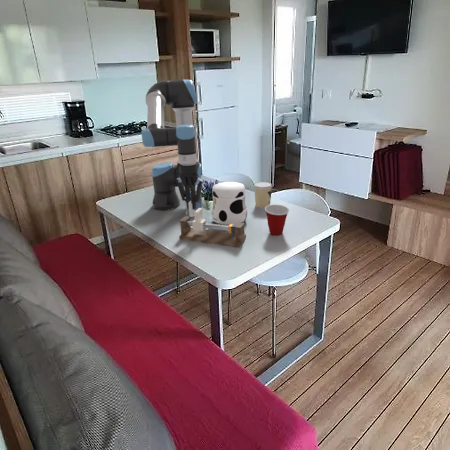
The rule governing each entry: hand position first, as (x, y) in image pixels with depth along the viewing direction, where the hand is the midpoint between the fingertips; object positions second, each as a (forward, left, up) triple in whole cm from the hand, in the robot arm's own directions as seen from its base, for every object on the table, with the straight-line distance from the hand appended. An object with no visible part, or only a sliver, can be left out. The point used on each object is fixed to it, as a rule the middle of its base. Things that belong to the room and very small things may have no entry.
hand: (192, 215), depth 161 cm
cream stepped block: (+3, 0, -6) cm, 7 cm away
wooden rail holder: (+9, 0, -10) cm, 14 cm away
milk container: (+10, +20, -10) cm, 25 cm away
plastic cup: (+35, +13, -10) cm, 39 cm away
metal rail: (+9, 0, -6) cm, 11 cm away
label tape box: (-12, +26, -10) cm, 31 cm away
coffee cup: (+20, +45, -10) cm, 50 cm away
